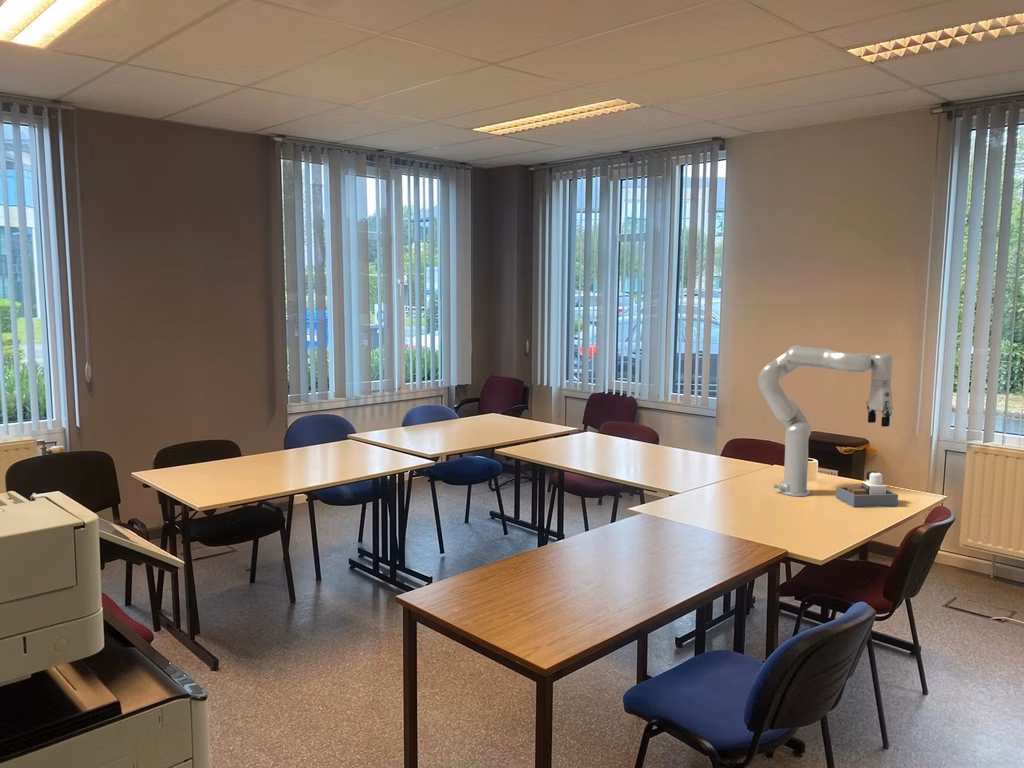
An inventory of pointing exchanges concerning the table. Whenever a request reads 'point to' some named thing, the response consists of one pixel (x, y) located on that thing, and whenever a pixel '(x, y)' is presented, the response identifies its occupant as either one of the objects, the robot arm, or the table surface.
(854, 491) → the walnut cube
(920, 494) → the table surface
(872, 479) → the medicine bottle
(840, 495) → the tote
